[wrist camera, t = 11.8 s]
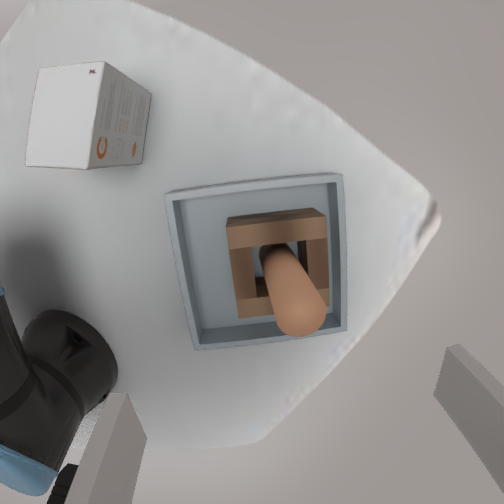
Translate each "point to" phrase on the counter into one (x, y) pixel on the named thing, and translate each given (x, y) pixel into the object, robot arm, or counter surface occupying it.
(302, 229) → the block
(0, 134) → the counter surface
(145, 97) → the small box
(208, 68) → the counter surface
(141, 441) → the robot arm
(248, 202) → the tray
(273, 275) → the peg
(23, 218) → the counter surface
